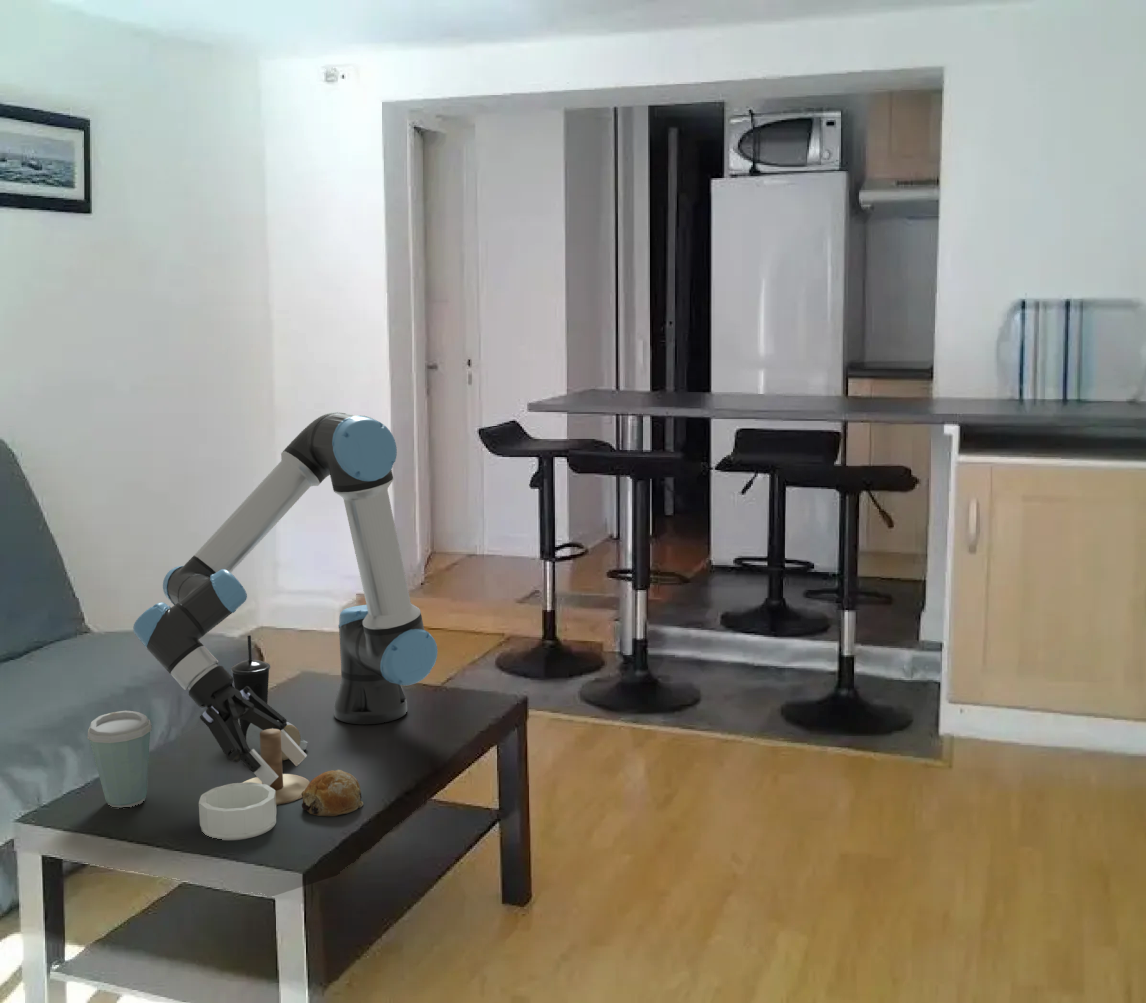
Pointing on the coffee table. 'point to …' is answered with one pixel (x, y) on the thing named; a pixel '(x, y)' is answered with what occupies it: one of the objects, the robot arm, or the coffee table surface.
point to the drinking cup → (251, 679)
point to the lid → (279, 769)
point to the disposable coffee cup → (122, 756)
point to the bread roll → (332, 794)
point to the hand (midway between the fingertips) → (287, 771)
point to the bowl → (237, 811)
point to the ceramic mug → (254, 731)
